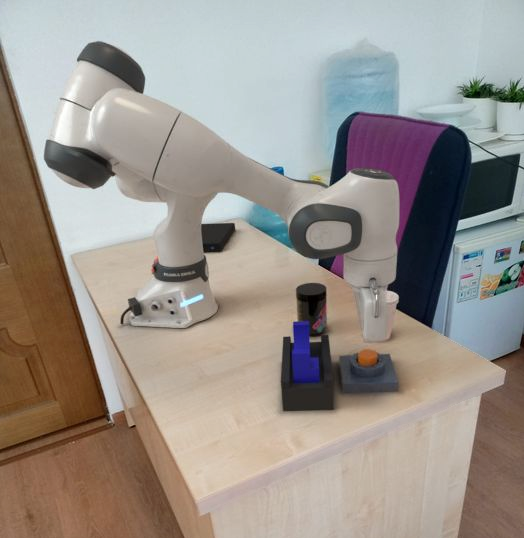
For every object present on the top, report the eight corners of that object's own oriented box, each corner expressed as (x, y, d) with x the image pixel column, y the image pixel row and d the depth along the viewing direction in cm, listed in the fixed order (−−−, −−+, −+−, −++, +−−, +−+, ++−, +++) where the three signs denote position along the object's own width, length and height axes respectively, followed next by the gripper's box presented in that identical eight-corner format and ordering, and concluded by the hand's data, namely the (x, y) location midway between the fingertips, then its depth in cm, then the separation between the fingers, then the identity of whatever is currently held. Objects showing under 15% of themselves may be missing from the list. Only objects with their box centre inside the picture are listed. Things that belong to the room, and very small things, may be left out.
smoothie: (379, 346, 106) (381, 285, 99) (360, 334, 111) (361, 276, 104) (402, 338, 108) (406, 278, 101) (383, 326, 113) (386, 268, 106)
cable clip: (319, 382, 88) (318, 353, 85) (293, 383, 88) (292, 354, 85) (317, 347, 98) (316, 320, 95) (294, 348, 98) (293, 321, 95)
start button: (358, 367, 93) (359, 359, 92) (356, 357, 96) (357, 349, 96) (378, 366, 93) (378, 358, 92) (375, 356, 96) (376, 348, 95)
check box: (342, 393, 93) (342, 375, 91) (339, 364, 101) (339, 347, 99) (397, 391, 92) (399, 373, 90) (389, 363, 100) (390, 345, 98)
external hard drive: (235, 230, 186) (234, 222, 185) (220, 252, 167) (219, 243, 165) (198, 231, 189) (197, 224, 188) (180, 252, 170) (178, 244, 168)
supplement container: (309, 340, 111) (307, 297, 105) (292, 329, 116) (289, 288, 111) (333, 331, 113) (332, 289, 108) (315, 321, 119) (314, 280, 113)
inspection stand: (283, 411, 89) (280, 381, 86) (285, 364, 103) (283, 336, 100) (333, 410, 89) (333, 379, 85) (328, 362, 102) (328, 334, 99)
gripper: (398, 292, 76) (394, 369, 83) (380, 247, 93) (377, 314, 100) (356, 294, 76) (355, 370, 83) (346, 249, 94) (345, 315, 101)
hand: (367, 339), depth 92 cm, fingers closed
